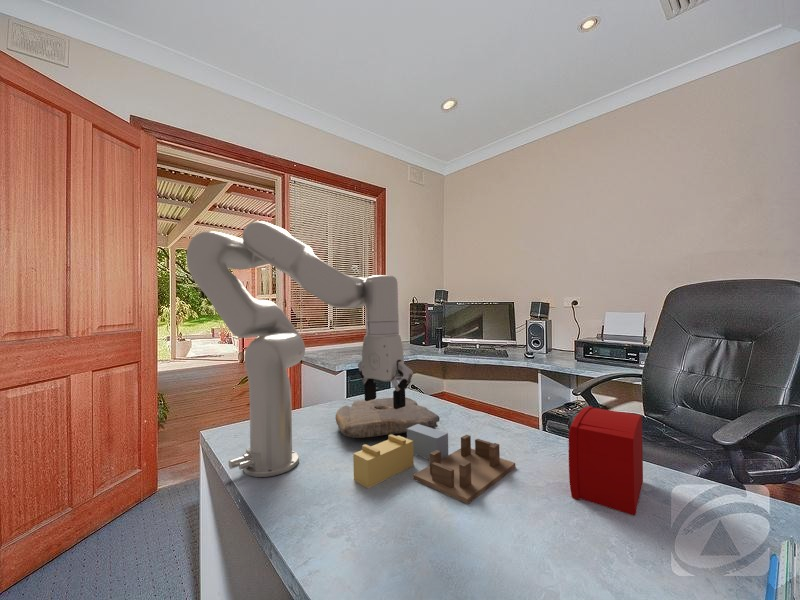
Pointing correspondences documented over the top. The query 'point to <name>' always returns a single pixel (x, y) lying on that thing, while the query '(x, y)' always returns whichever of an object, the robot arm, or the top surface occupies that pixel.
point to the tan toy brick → (382, 460)
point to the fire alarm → (606, 458)
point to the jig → (465, 470)
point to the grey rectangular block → (427, 440)
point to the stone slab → (382, 418)
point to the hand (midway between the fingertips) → (384, 403)
